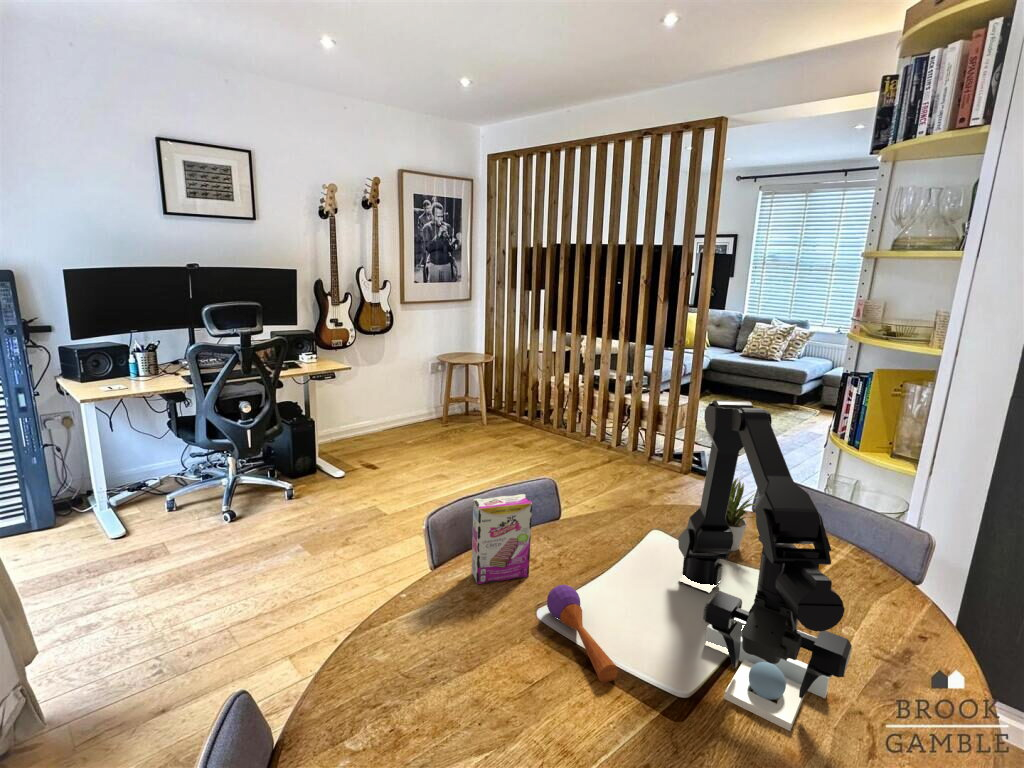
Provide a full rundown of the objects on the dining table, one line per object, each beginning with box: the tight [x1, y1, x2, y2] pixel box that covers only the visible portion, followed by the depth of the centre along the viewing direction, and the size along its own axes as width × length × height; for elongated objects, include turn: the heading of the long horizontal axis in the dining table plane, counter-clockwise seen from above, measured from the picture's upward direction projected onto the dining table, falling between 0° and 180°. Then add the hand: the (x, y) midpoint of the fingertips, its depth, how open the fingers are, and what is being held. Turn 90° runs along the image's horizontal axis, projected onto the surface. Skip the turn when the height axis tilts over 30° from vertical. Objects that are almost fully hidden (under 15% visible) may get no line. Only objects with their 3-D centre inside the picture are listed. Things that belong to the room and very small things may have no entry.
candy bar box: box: [471, 493, 533, 585], centre depth 111 cm, size 11×5×16 cm, turn 108°
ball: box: [749, 662, 786, 701], centre depth 82 cm, size 5×5×5 cm
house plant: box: [701, 476, 759, 552], centre depth 127 cm, size 14×14×16 cm
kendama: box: [546, 584, 619, 683], centre depth 93 cm, size 6×6×20 cm
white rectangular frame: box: [723, 660, 806, 732], centre depth 82 cm, size 9×9×1 cm
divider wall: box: [705, 623, 830, 699], centre depth 88 cm, size 18×1×4 cm, turn 51°
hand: (766, 680), depth 82 cm, fingers open, 9 cm apart
